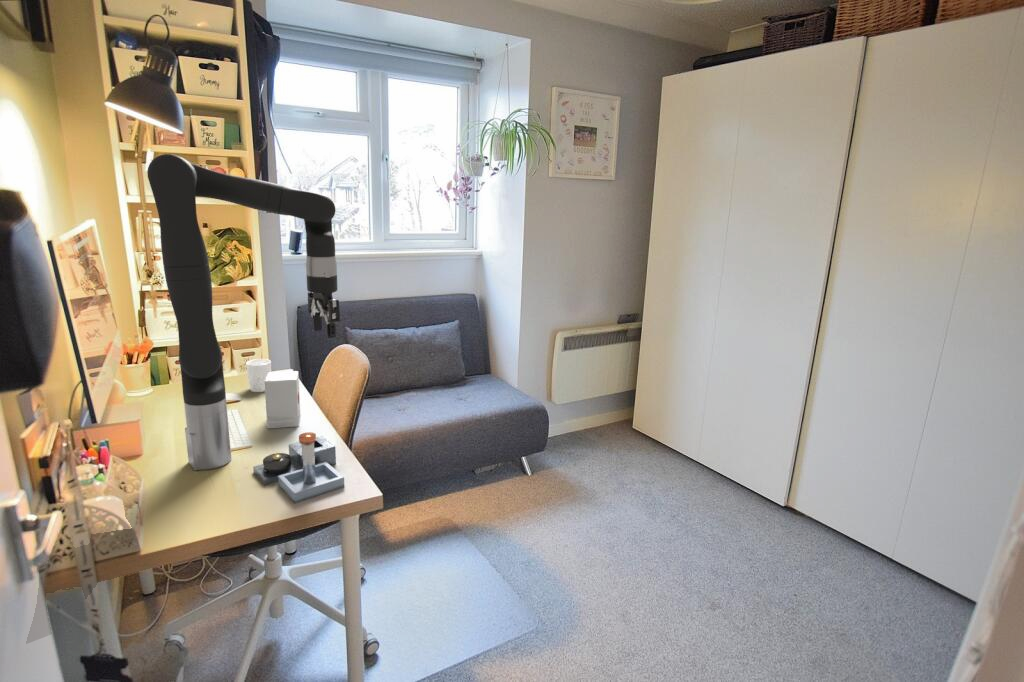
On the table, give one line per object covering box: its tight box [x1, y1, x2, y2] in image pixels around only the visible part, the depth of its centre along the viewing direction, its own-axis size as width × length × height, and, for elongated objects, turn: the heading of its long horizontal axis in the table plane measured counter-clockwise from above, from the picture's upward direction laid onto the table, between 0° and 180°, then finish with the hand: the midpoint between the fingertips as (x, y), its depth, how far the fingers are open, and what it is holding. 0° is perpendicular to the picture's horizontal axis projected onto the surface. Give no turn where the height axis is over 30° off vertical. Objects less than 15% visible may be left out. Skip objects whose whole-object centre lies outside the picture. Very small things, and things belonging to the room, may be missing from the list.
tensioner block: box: [253, 435, 337, 486], centre depth 140 cm, size 18×8×5 cm, turn 132°
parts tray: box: [277, 462, 345, 504], centre depth 132 cm, size 12×10×2 cm
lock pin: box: [298, 431, 317, 485], centre depth 132 cm, size 4×4×12 cm
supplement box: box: [264, 370, 301, 429], centre depth 166 cm, size 9×9×15 cm
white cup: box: [245, 358, 272, 393], centre depth 192 cm, size 8×8×10 cm
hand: (324, 333), depth 146 cm, fingers open, 8 cm apart
